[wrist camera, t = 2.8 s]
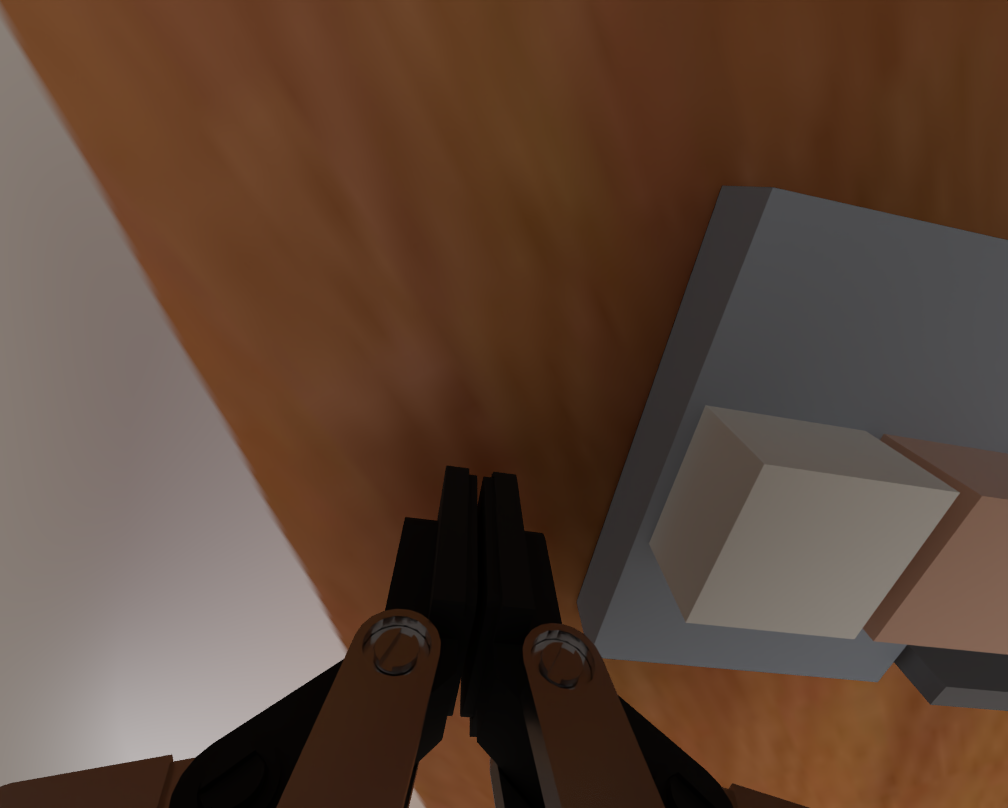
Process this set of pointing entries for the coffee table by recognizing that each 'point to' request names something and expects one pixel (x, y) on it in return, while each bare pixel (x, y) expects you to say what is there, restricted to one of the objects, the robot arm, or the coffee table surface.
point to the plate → (801, 391)
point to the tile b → (954, 558)
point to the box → (957, 676)
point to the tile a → (791, 524)
